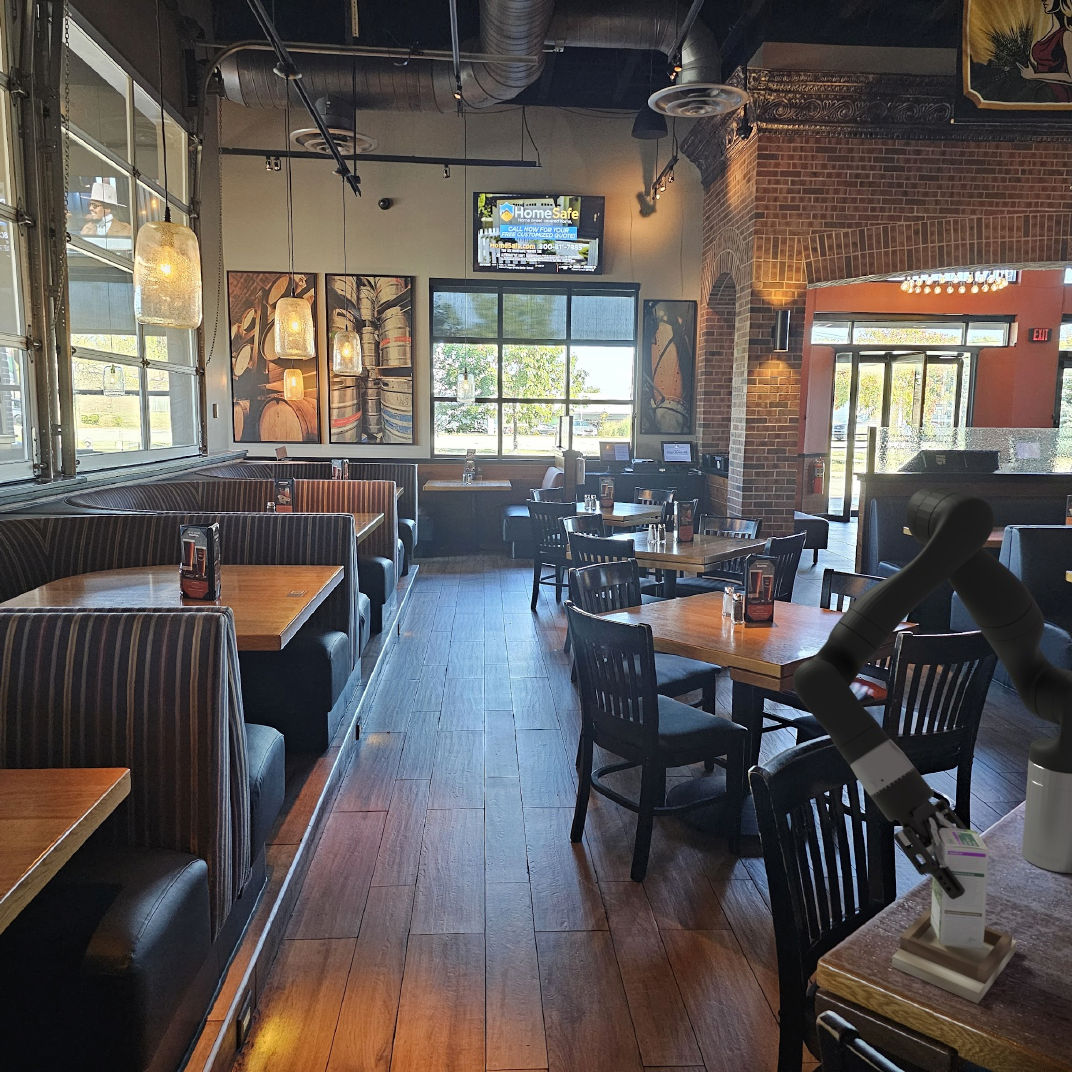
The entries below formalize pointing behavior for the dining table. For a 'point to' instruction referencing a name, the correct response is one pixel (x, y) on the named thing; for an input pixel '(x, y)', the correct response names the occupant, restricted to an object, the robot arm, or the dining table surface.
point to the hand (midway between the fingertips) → (970, 884)
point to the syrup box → (969, 864)
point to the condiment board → (953, 959)
